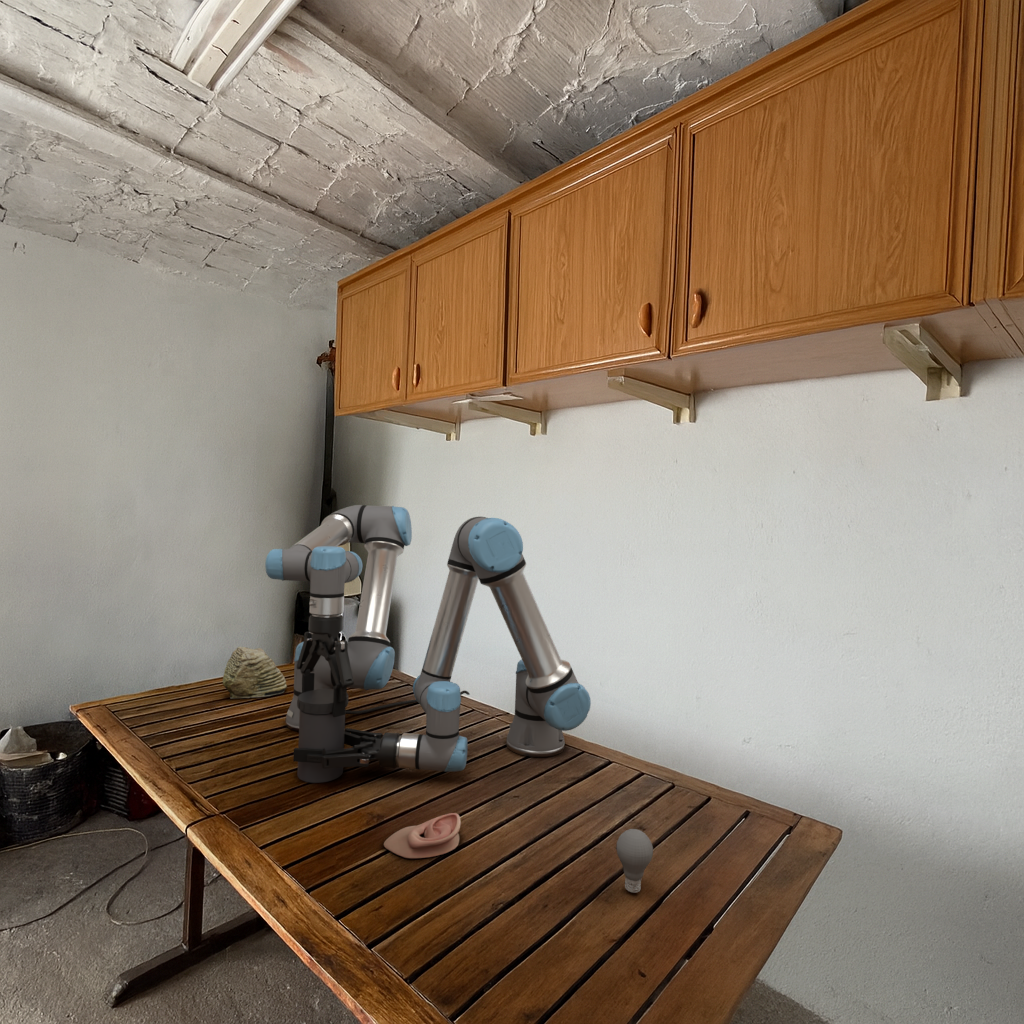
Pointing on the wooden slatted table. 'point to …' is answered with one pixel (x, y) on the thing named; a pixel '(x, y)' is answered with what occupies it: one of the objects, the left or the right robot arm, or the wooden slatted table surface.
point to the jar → (320, 743)
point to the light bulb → (634, 857)
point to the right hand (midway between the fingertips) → (302, 745)
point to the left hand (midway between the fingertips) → (322, 708)
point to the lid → (317, 701)
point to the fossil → (252, 674)
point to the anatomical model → (426, 838)
